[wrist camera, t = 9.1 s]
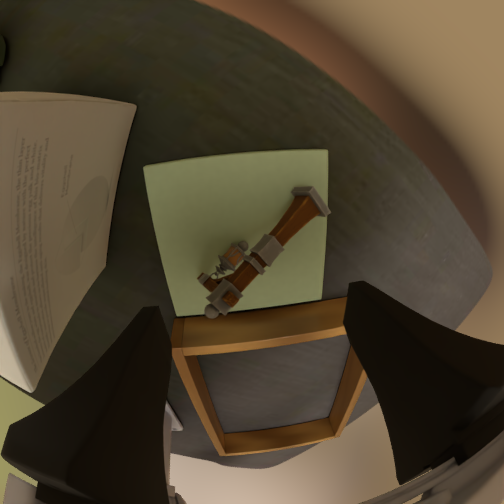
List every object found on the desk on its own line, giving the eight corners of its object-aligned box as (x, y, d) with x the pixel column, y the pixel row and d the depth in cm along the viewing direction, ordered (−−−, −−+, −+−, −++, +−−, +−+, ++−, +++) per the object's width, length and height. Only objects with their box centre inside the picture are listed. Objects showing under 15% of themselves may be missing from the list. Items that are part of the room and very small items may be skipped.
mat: (177, 311, 18) (176, 316, 18) (145, 165, 13) (142, 166, 13) (319, 294, 19) (321, 299, 18) (324, 148, 14) (328, 149, 14)
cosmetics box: (50, 92, 10) (-88, 103, 1) (139, 104, 12) (1, 92, 3) (32, 243, 14) (-55, 340, 5) (106, 268, 16) (38, 400, 7)
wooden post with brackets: (179, 282, 15) (197, 311, 11) (271, 188, 17) (316, 185, 13) (200, 301, 16) (225, 334, 12) (287, 209, 17) (334, 213, 13)
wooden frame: (218, 436, 28) (220, 456, 25) (174, 318, 18) (168, 348, 16) (333, 418, 29) (339, 436, 26) (371, 292, 19) (388, 316, 17)
